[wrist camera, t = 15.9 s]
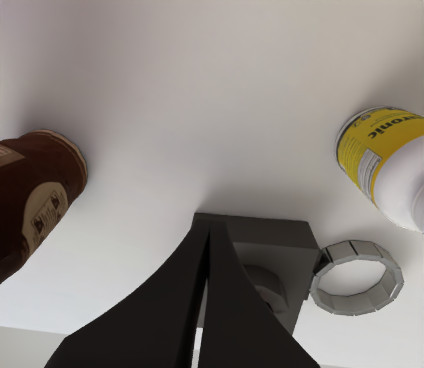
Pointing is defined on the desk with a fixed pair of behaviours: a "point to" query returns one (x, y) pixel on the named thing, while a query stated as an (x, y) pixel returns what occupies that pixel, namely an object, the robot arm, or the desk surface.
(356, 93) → the desk surface
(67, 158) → the coffee cup
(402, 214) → the supplement bottle
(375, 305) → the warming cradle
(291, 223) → the power button base
